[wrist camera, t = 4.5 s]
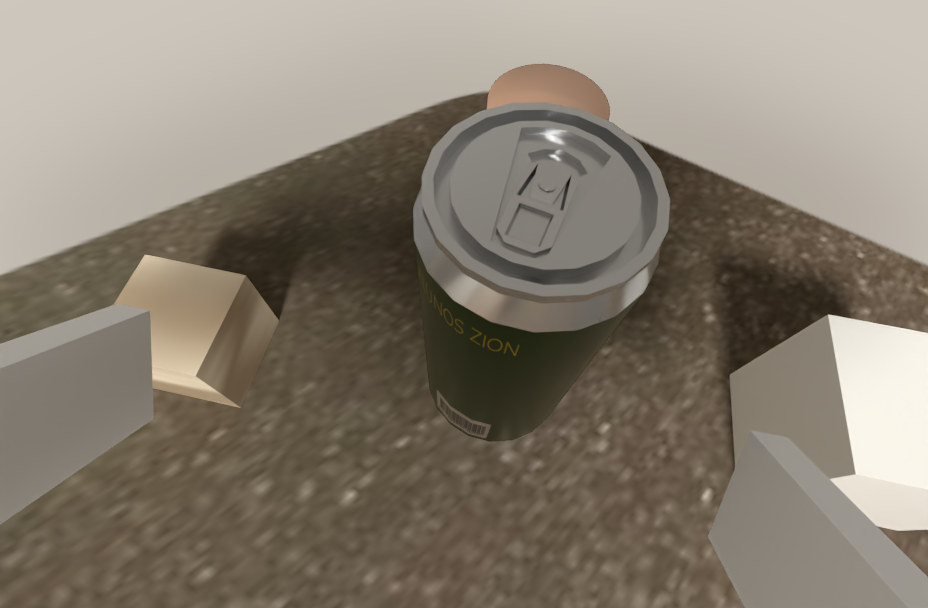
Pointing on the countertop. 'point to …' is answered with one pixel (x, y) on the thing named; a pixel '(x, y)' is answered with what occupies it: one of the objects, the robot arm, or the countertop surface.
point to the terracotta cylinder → (549, 89)
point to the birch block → (201, 328)
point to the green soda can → (529, 258)
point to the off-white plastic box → (847, 411)
